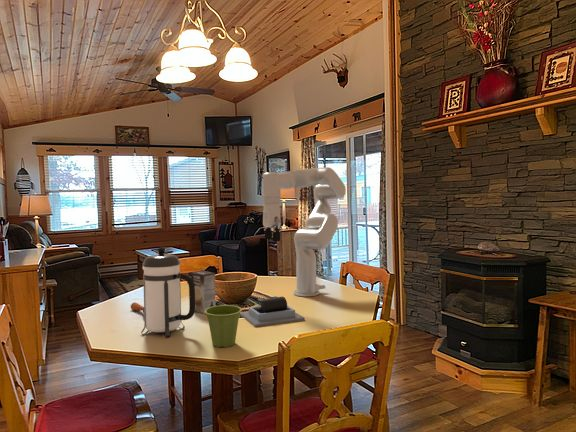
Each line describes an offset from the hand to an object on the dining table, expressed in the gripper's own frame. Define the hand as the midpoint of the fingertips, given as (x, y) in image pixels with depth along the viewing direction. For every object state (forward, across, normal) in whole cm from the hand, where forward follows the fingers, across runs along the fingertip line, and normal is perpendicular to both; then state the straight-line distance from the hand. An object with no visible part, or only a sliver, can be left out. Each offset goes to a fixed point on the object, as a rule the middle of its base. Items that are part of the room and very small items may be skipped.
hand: (272, 240), depth 190 cm
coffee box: (+28, -3, -30) cm, 41 cm away
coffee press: (+28, +20, -48) cm, 59 cm away
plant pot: (+28, +41, -33) cm, 60 cm away
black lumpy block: (+28, +19, -8) cm, 34 cm away
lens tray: (+28, +19, -8) cm, 35 cm away
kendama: (+29, -8, -53) cm, 61 cm away
